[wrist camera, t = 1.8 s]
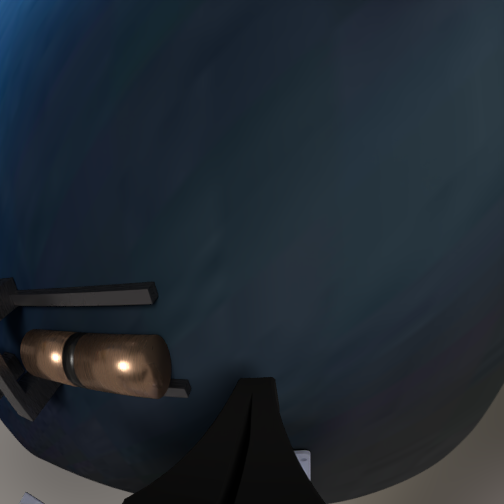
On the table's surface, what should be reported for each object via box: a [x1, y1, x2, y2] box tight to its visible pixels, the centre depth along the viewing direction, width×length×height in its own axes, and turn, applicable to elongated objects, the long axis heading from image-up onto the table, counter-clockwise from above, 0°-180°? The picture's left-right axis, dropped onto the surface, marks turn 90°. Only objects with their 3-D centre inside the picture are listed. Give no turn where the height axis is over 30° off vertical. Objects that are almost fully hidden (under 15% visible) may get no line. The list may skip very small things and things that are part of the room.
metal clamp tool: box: [0, 277, 191, 421], centre depth 14 cm, size 9×20×5 cm, turn 99°
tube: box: [20, 329, 171, 399], centre depth 14 cm, size 10×3×3 cm, turn 99°
